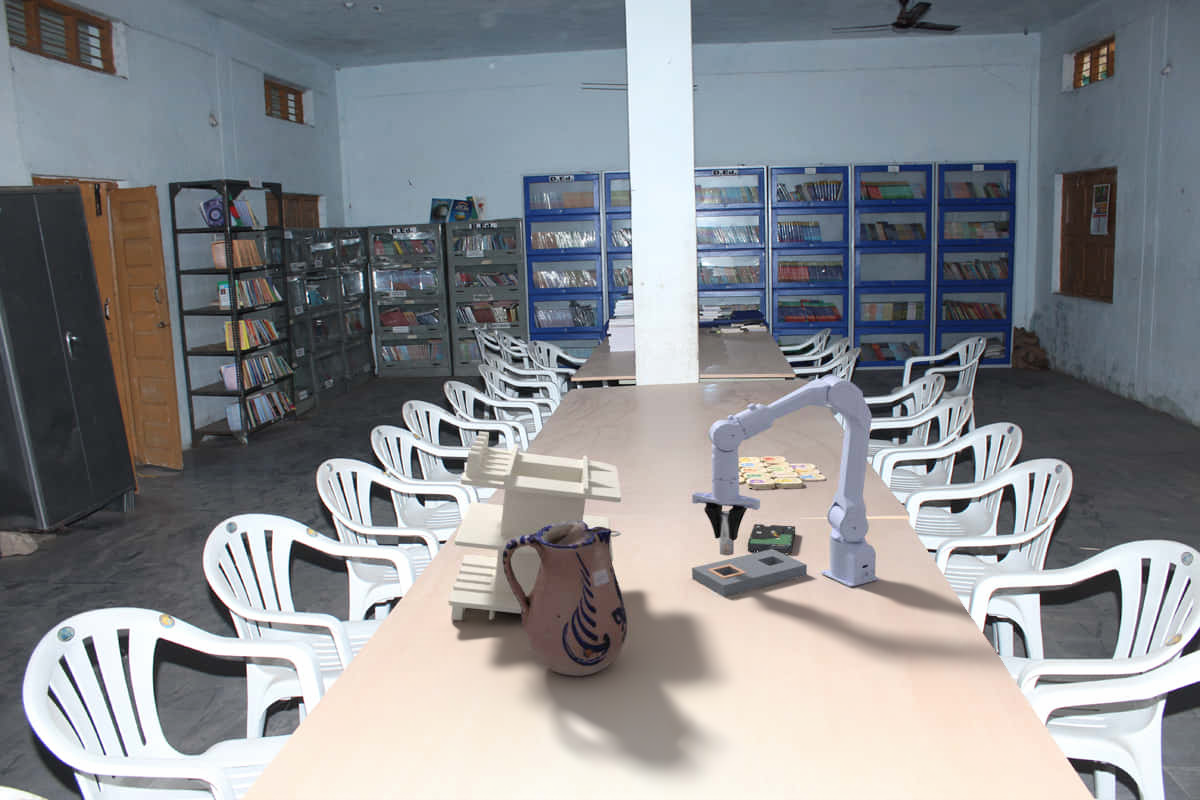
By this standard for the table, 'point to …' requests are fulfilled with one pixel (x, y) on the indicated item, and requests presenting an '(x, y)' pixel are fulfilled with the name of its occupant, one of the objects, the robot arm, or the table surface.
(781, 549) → the disk drive
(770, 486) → the alphabet tiles
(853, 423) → the robot arm
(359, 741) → the table surface
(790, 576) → the dock plate
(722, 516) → the steel pin
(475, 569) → the desk organizer
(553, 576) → the ceramic pitcher
